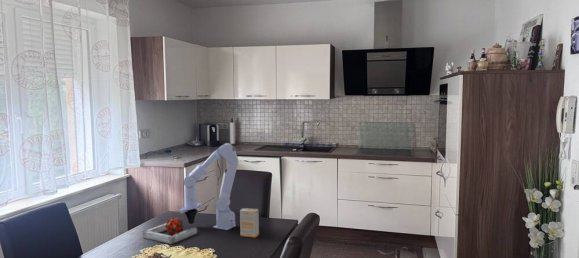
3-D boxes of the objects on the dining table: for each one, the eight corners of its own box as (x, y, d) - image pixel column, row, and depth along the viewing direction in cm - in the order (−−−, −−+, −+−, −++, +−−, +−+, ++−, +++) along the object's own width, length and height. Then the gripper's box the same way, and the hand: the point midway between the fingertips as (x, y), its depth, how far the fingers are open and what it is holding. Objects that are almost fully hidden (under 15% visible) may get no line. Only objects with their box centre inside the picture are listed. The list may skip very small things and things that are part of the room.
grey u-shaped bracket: (196, 233, 193) (196, 227, 193) (171, 244, 178) (171, 237, 178) (169, 227, 202) (168, 222, 202) (142, 237, 187) (142, 231, 187)
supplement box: (259, 234, 190) (259, 208, 189) (255, 238, 186) (255, 211, 185) (244, 233, 193) (243, 207, 192) (239, 236, 188) (239, 210, 188)
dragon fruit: (177, 232, 199) (175, 243, 188) (163, 224, 197) (160, 235, 185) (187, 219, 199) (185, 230, 187) (173, 211, 196) (170, 221, 185)
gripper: (194, 194, 210) (194, 218, 211) (174, 200, 198) (175, 226, 198) (204, 195, 207) (204, 220, 208) (185, 201, 194) (185, 228, 195)
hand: (191, 223), depth 203 cm, fingers closed
